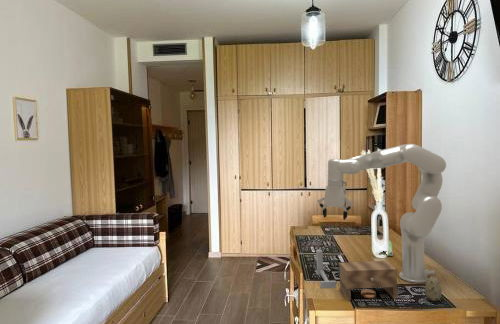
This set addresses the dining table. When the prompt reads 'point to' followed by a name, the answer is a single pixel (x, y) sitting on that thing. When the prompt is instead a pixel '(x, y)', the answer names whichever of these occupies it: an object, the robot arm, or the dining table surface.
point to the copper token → (368, 293)
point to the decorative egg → (433, 289)
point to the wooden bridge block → (368, 277)
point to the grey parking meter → (319, 271)
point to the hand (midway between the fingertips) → (334, 218)
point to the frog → (390, 249)
